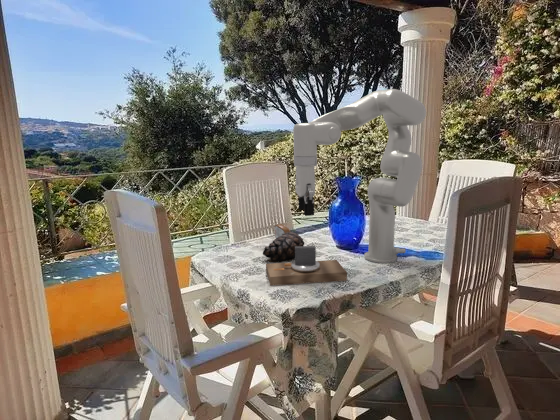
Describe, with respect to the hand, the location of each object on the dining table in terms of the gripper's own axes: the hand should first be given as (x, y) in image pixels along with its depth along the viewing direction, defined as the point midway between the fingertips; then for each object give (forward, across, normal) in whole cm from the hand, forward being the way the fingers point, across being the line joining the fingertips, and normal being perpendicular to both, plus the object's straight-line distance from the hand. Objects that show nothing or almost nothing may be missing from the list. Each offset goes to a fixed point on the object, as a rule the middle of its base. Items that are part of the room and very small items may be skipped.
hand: (306, 212), depth 137 cm
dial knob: (+19, 0, -2) cm, 19 cm away
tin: (+23, -40, -3) cm, 46 cm away
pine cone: (+23, -20, -5) cm, 31 cm away
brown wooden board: (+23, 0, -1) cm, 23 cm away
